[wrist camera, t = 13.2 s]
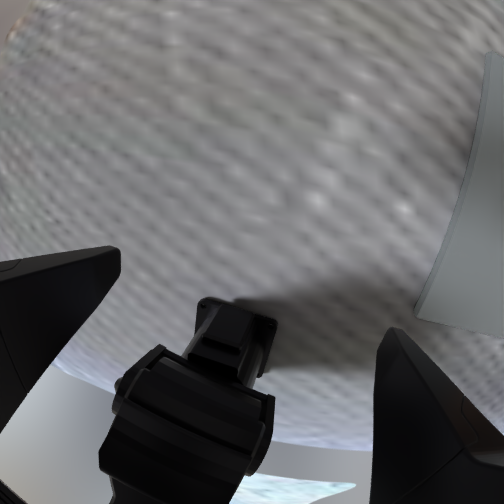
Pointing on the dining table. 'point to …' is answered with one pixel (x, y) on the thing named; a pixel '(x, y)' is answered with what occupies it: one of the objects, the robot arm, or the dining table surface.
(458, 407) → the robot arm
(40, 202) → the dining table surface
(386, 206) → the dining table surface
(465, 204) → the slate board
